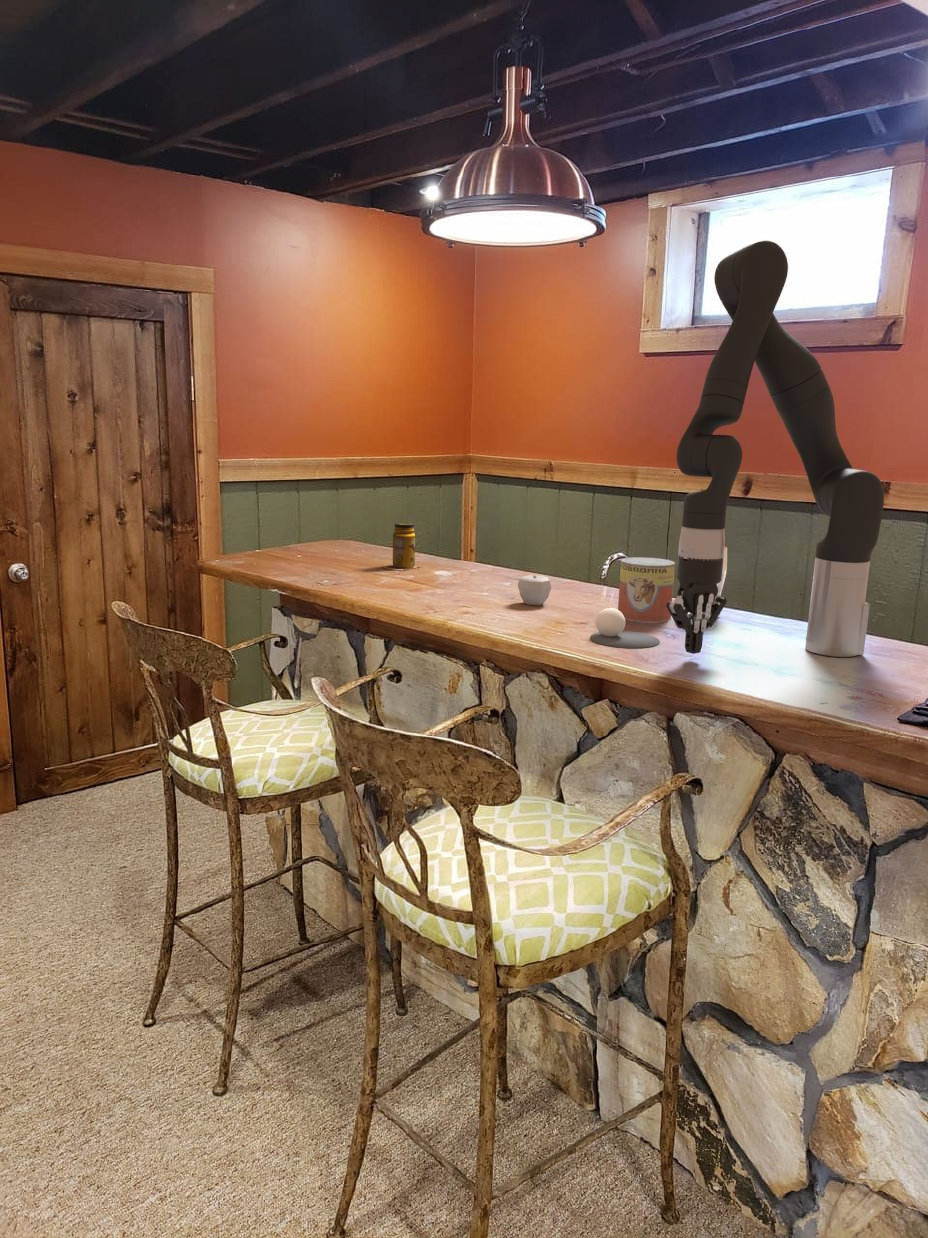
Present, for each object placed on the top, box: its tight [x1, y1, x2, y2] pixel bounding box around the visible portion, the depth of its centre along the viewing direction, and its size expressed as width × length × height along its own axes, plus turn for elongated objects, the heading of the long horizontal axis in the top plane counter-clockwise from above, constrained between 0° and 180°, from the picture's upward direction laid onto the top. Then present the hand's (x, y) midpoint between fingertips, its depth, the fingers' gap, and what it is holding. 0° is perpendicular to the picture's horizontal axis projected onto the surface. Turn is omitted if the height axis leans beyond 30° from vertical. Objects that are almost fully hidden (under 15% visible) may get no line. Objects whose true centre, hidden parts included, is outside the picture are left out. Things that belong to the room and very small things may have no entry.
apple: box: [517, 574, 552, 606], centre depth 204 cm, size 8×8×7 cm
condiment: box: [380, 522, 416, 571], centre depth 247 cm, size 7×8×12 cm
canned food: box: [617, 556, 676, 623], centre depth 193 cm, size 11×11×12 cm
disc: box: [589, 630, 661, 649], centre depth 173 cm, size 13×13×1 cm
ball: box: [595, 607, 626, 637], centre depth 175 cm, size 6×6×6 cm
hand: (692, 652), depth 159 cm, fingers closed
